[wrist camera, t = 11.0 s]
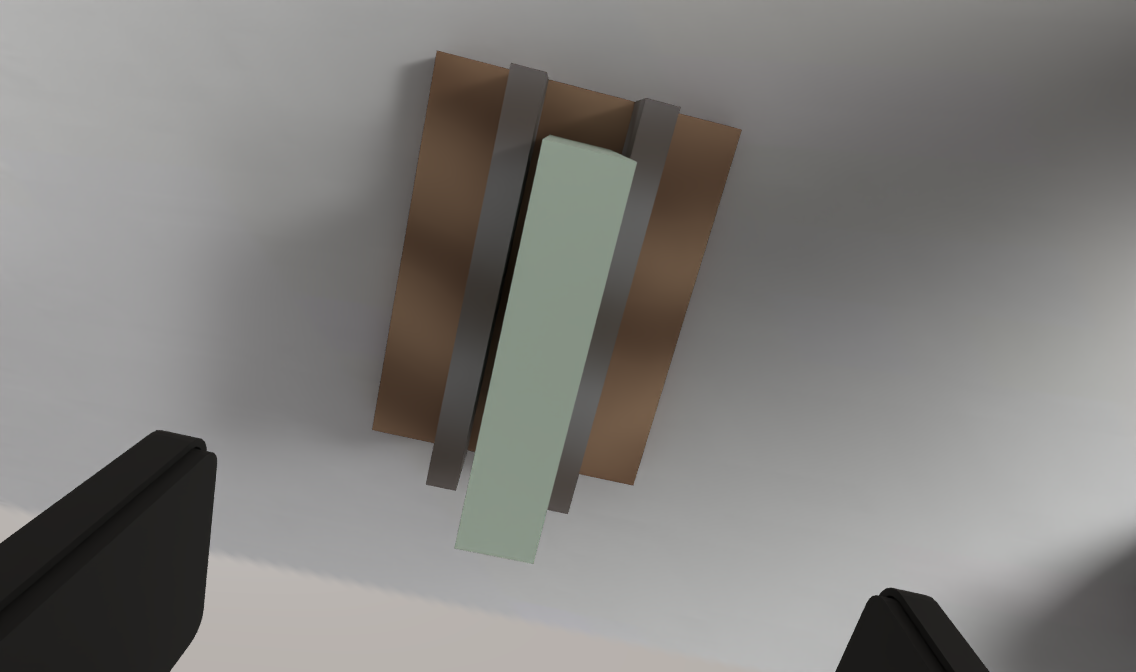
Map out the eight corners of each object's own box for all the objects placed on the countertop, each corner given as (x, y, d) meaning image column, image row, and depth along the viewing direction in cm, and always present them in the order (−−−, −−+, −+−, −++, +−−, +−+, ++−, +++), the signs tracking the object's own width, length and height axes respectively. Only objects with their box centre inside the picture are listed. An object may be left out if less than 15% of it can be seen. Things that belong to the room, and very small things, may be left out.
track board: (443, 54, 26) (417, 38, 22) (732, 129, 27) (768, 130, 23) (380, 416, 31) (347, 468, 26) (630, 469, 32) (641, 529, 27)
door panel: (549, 134, 26) (542, 138, 16) (609, 149, 26) (637, 161, 17) (489, 411, 29) (454, 548, 20) (542, 423, 30) (533, 563, 20)
